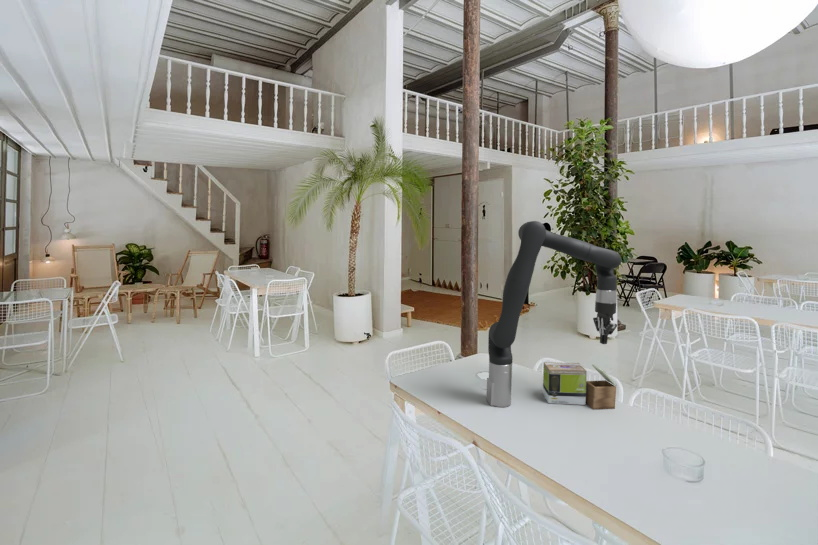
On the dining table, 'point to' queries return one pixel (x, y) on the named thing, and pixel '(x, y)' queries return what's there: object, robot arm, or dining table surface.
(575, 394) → the tea box
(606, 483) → the dining table surface
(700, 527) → the dining table surface
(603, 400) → the chest
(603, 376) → the lid
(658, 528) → the dining table surface
